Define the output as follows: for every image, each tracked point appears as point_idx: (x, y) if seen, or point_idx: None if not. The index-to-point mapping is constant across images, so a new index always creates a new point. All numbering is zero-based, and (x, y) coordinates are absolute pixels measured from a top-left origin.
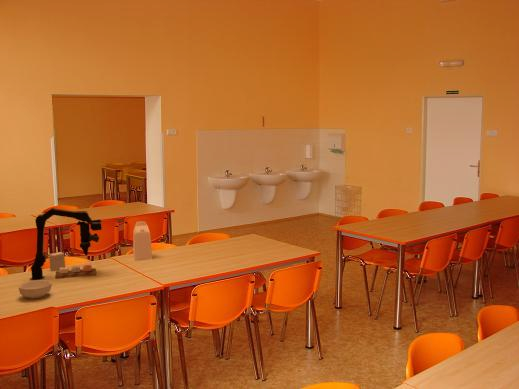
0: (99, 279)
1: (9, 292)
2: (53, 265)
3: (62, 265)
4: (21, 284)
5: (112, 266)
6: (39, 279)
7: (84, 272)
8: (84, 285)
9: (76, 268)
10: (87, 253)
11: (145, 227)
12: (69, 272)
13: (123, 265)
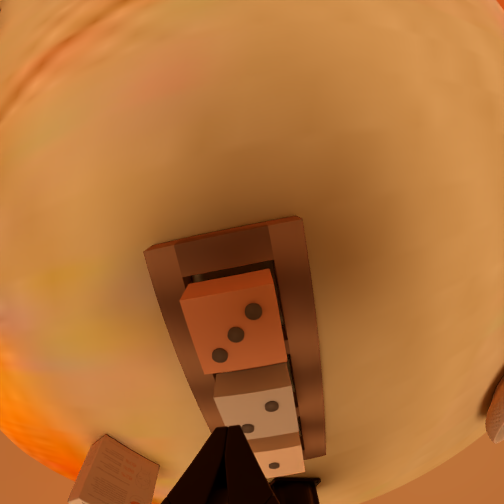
0: (419, 163)
1: (430, 466)
2: (152, 488)
3: (114, 456)
4: (502, 439)
5: (41, 145)
6: (318, 479)
7: (294, 323)
8: (494, 244)
9: (293, 402)
10: (251, 449)
11: None
12: None
13: (40, 77)
